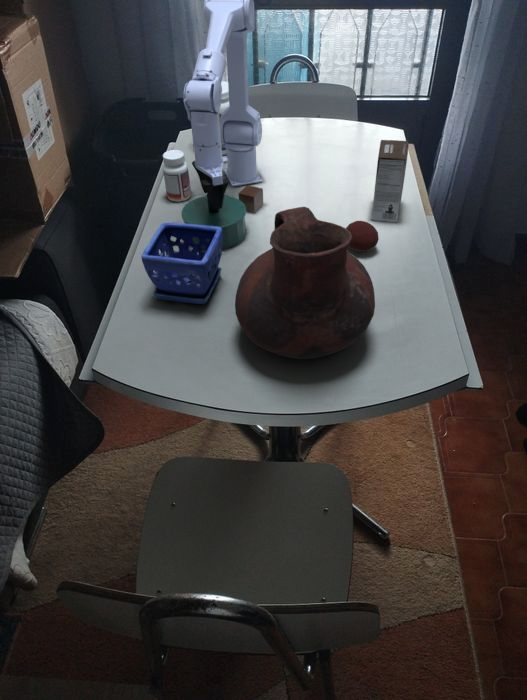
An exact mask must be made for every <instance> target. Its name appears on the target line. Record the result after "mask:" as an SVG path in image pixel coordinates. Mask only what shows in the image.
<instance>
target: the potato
mask: <svg viewBox="0 0 527 700" xmlns="http://www.w3.org/2000/svg"><path fill="white" fill-rule="evenodd" d="M346 229H347V230H348V231H350V233H351V235H352V239H351V242H350V245H349V247H348V249H351V250H353V251H358V252H368V251H371V250H373V249H375V247H376V246H377V244H378V242H379V240H380V239H379V232H378V230H377V229H376V227H375V226H374V225H373V224H371V223H370V222H368V221H365V220H355V221H353V222H351V223H348V225H347V226H346Z"/></svg>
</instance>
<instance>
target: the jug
mask: <svg viewBox="0 0 527 700" xmlns="http://www.w3.org/2000/svg"><path fill="white" fill-rule="evenodd" d="M351 239H352V235H351V233H350V231H348V230H347V229H346V228H345V227H343V226H341V225H339V224H337V223H334V222H329V221H325V220H324V221H323V220H320V219H317V217H316V216H315V214H314V213H313V212H312V210H311V209H310V208H309V207H307V206H298V207H294V208H293V207H292V208H288V209H284V210H280V211H278V212H276V214H275V215H274V229H273V230H272V232H271V234H270V237H269V244H270V246H271V247H272V248H270V249H268V250H266V251H264V252H263V253H261V254H260V255H258V256H257V257H256V258H255V259H254V260H253V261H252V262H251V263H250V264H249V265H248V266H247V267H246V269H245V270H244V271H243V273H242V275H241V276H240V277H241V278H240V279H239V282H238V285H237V289H236V293H235V301H234V308H235V316H236V318H237V321H238V324H239V327H240V328H241V329H242V331H243V333H244V334H245V336H247V338H248V339H250V341H251V342H253V344H255V345H257V346H258V347H259V348H261V349H263V350H265V351H267V352H269V353H272V354H275V355H278V356H281V357H286V358H290V359H294V360H295V359H296V360H297V359H298V360H310V359H318V358H322V357H326V356H328V355H332V354H335V353H338V352H340V351H342V350H344V349H346V348H348V347H349V346H351V345H352V344H353V343H355V342H357V341H358V339H359V338H361V337H362V336H363V334H364V333H365V332H366V330H367V329H368V327H369V325H370V323H371V322H372V319H373V318H374V315H375V309H376V296H375V288H374V283H373V280H372V278H371V276H370V274H369V272H368V270H367V269H366V267H365V265H364V264H363V262H362V261H360V260H359V259H358V258H357V257H356V256H354V255H353V253H350V252H348V251H349V245H350V242H351Z"/></svg>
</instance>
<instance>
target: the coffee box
mask: <svg viewBox="0 0 527 700" xmlns="http://www.w3.org/2000/svg"><path fill="white" fill-rule="evenodd" d="M409 143H410V142H409V140H398V139H397V140H395V139H381V140H380V143H379V149H378V157H377V165H376V173H375V182H374V191H373V202H372V212H371V221H375V222H376V221H377V222H389V223H399V218H400V212H401V211H400V209H401V204H402V197H403V191H404V183H405V177H406V170H407V163H408V154H409Z"/></svg>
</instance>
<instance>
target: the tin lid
mask: <svg viewBox="0 0 527 700" xmlns="http://www.w3.org/2000/svg"><path fill="white" fill-rule="evenodd" d="M246 215H247V211H246V207H245V205H244V203H243V202H242V201H240V200H239V198H237V197H235V196H231V195H228V194H227V195H226V194H224V199H223V205H222V208H221V209H216V210H213V209H212V207H211V204H210V200H209V196H208V193H206V195H203V196H200V197H197V198H194V199H192V200H190V201H188V202H187V203H186V204H185V205H184V206H183V207H182V210H181V218H182V220H183V223H184V222H185V223H187V224H196V225H206V226H214V227H221V228H222V229H224V228H228V227H231V226H233V225H235V224H237V223H239V222H240V221H241V220H242V219H243V218H244V217H245V218H246ZM185 223H184V224H185Z"/></svg>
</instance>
